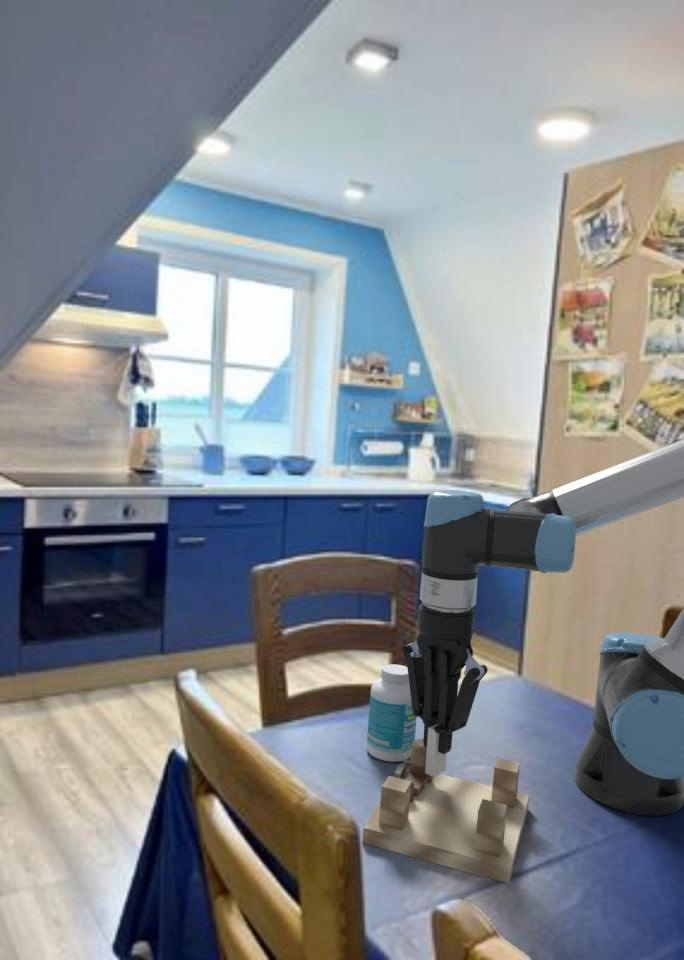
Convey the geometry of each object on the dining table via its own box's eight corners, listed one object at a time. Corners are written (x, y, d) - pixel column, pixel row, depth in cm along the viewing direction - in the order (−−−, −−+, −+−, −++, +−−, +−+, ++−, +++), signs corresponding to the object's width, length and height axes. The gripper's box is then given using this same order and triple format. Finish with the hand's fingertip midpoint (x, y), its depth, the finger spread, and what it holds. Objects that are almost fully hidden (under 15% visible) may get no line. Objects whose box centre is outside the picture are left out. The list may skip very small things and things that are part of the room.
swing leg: (421, 796, 102) (424, 760, 101) (398, 789, 103) (401, 754, 103) (435, 776, 108) (438, 742, 107) (413, 770, 109) (416, 736, 108)
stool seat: (527, 809, 105) (532, 760, 104) (509, 883, 88) (514, 826, 87) (402, 778, 111) (405, 732, 110) (362, 842, 94) (366, 789, 93)
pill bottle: (410, 767, 115) (417, 681, 113) (362, 759, 116) (368, 674, 115) (415, 746, 122) (422, 664, 120) (370, 738, 123) (376, 658, 122)
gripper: (392, 598, 105) (382, 762, 107) (471, 621, 96) (457, 799, 98) (426, 590, 110) (415, 747, 112) (503, 611, 101) (490, 781, 103)
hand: (435, 771), depth 105 cm, fingers closed
